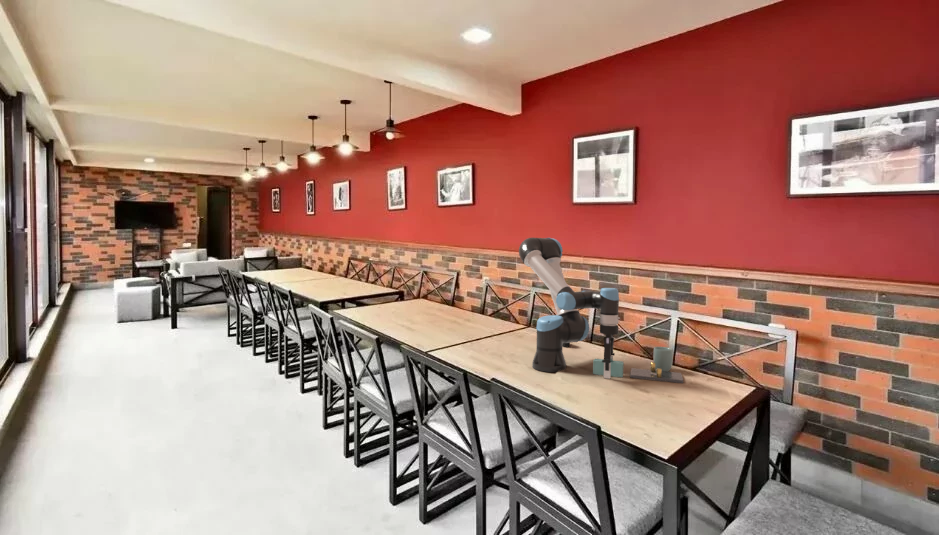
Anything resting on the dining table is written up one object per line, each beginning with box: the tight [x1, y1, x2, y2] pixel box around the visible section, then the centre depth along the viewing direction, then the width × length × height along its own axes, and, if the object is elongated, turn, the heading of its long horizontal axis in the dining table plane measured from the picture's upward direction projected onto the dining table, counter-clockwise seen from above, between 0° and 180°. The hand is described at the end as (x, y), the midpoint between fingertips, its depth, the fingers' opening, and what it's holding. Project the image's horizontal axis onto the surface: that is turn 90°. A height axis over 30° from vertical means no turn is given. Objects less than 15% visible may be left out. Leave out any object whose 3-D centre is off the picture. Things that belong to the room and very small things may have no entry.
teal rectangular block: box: [592, 358, 625, 378], centre depth 192 cm, size 12×4×7 cm, turn 65°
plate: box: [629, 361, 684, 384], centre depth 190 cm, size 20×12×5 cm, turn 69°
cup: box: [652, 346, 674, 372], centre depth 199 cm, size 8×8×10 cm
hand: (608, 374), depth 192 cm, fingers open, 12 cm apart
